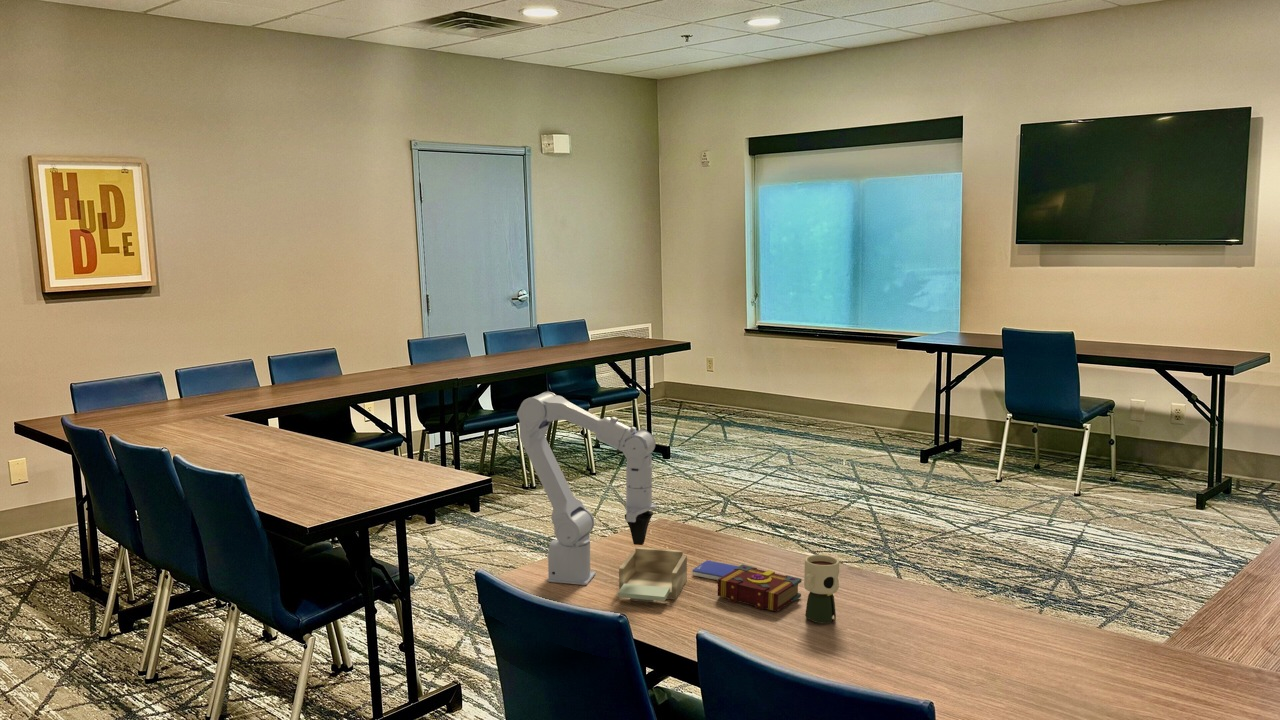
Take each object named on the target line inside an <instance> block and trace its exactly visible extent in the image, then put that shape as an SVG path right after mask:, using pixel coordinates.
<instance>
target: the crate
mask: <svg viewBox="0 0 1280 720" xmlns="http://www.w3.org/2000/svg"><path fill="white" fill-rule="evenodd" d="M634 549H635V550H632V551H631V552H630V553H629V554H628V556H627V557H626V558H625V560H624V561H623V563H622V564H621V565H620V566H619V568H618V591H619V590H620V588H621V587H622V586H623V584H635V585H646V586H658V587H669V588H670V593H669V594H668V596H667V598H666V599H668V600H669V599H670V600H677V599H678V597H679V595H680V594H681V591H682V589H683V588H684V586H685V584H686V582H687V580H688V576H687V575H688V573H687V572H688V564H687V563H688V554H683V552H684V551H683V550H678V549H668V548H667V549H664V548H654V547H642V546H641V547H638V546H636V547H635V548H634Z"/></svg>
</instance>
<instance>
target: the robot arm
mask: <svg viewBox="0 0 1280 720" xmlns="http://www.w3.org/2000/svg"><path fill="white" fill-rule="evenodd" d="M516 416H517V418H518V420H519V439H520V441H521V444H522V446H523V447H524V450H525V452H526V454H527V456H528V458H529V460H530V463H531V465H532V466H533V469H534V471H535V473H536V475H537V477H538V479H539V481H540V483H541V486H542V488H543V490H544V492H545V494H546V496H547V498H548V500H549V503H550V504H551V506H552V513H551V517H550V518H551V521H552V524H553V527H554V528H553V529H554V531H553V532H554V536H555V539H553V540H551V542H550V544H549V547H548V550H547V551H548V553H547V558H548V559H547V561H548V562H547V563H548V564H547V565H548V567H547V568H548V569H547V572H548V575H547V576H548V578H547V582H548V583H559V584H568V585H569V584H570V585H581V586H586V585H588V584H589V583H590V581H591V580H593V578H594V577H595V576H596V573H597V572H596V571H593V570H591V536H590V533H591V532H592V531H593V529H594V527H595V519H594V517H593V515H592V513H591V512H590V511H589V510H588V509H586V507H585V505H584V504H583V502H582V501H581V500H579V499H578V498H576V497H575V496H574V494H573V492H572V490H571V488H570V486H569V483H568V482H567V480H566V478H565V475H564V473H563V471H562V470H561V467H560V465H559V463H558V461H557V459H556V457H555V454H554V453H553V452H554V451H552V449H551V446H550V444H549V442H548V440H547V437H546V435H547V432H548V429H549V427H550V425H551V423H552V422H553V421H554V422H555V421H560V420H564V421H567V422H568V423H571V424H574V425H576V426H579V427H581V428H583V429H586V430H588V431H589V432H593V433H594V436H595V439H596V440H598V441H599V442H601V443H604V444H605V445H608V446H610V447H612V448H614V449H616V450H618V451H619V452H622V453H623V455H624V457H625V458H626V475H625V477H626V478H625V479H626V487H625V488H626V492H625V493H626V494H625V495H626V496H625V499H626V503H625V507H624V508H625V511H626V513H625V514H624V519H625V522H626V523H627V524H628V527H629V528H628V529H629V530H630V533H631V539H632V543H633V545H634V546H635V545H637V546H643V545H644V543H645V541H646V536H647V531H648V528H649V525H650V521H651V519H652V517H653V515H654V512H653V511H656V509H657V508H658V505H657V504H655V503H654V504H653V502H652V501H653V499H652V497H653V490H652V489H653V487H652V485H653V483H652V482H653V465H652V463H653V462H652V456H653V455H652V453H653V451H654V450H655V448H656V439H655V437H654V436H653V435H652V433H650V432H649V431H648V430H646V429H639V430H637V427H635V426H632V427H630V426H628V425H627V424H624V423H622V422H620V421H618V420H619V417H616V416H612V417H610V416H606V417H603V418H600V417H598V416H596V415H594V414H593V413H591V412H589V411H588V410H585V409H583V408H582V407H580V406H578V405H576V404H574V403H572V402H570V401H569V400H568V399H566V398H565V397H563V396H562V395H557V394H555V393H554V392H551V391H544V392H542V393H540V394H538V395H535V396H531V397H528V398H526V399H524V400H523V401H522V402H521V404H520V406H519V408H518V410H517V413H516ZM652 510H653V511H652Z"/></svg>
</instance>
